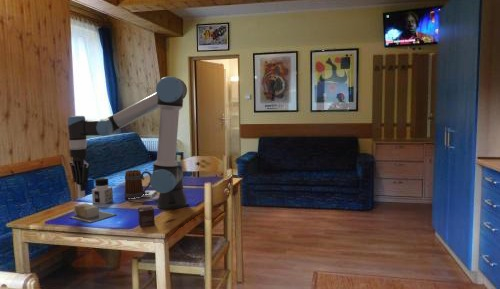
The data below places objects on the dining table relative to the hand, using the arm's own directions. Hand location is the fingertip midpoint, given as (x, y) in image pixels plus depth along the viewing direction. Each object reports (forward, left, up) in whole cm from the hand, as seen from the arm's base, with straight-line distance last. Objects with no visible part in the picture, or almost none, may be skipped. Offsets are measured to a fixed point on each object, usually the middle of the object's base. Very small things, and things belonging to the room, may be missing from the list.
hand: (81, 197), depth 185 cm
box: (-40, -4, -9) cm, 41 cm away
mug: (+3, -37, -9) cm, 38 cm away
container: (+12, -20, -9) cm, 25 cm away
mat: (-8, 0, -8) cm, 12 cm away
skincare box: (+2, 0, -6) cm, 6 cm away
